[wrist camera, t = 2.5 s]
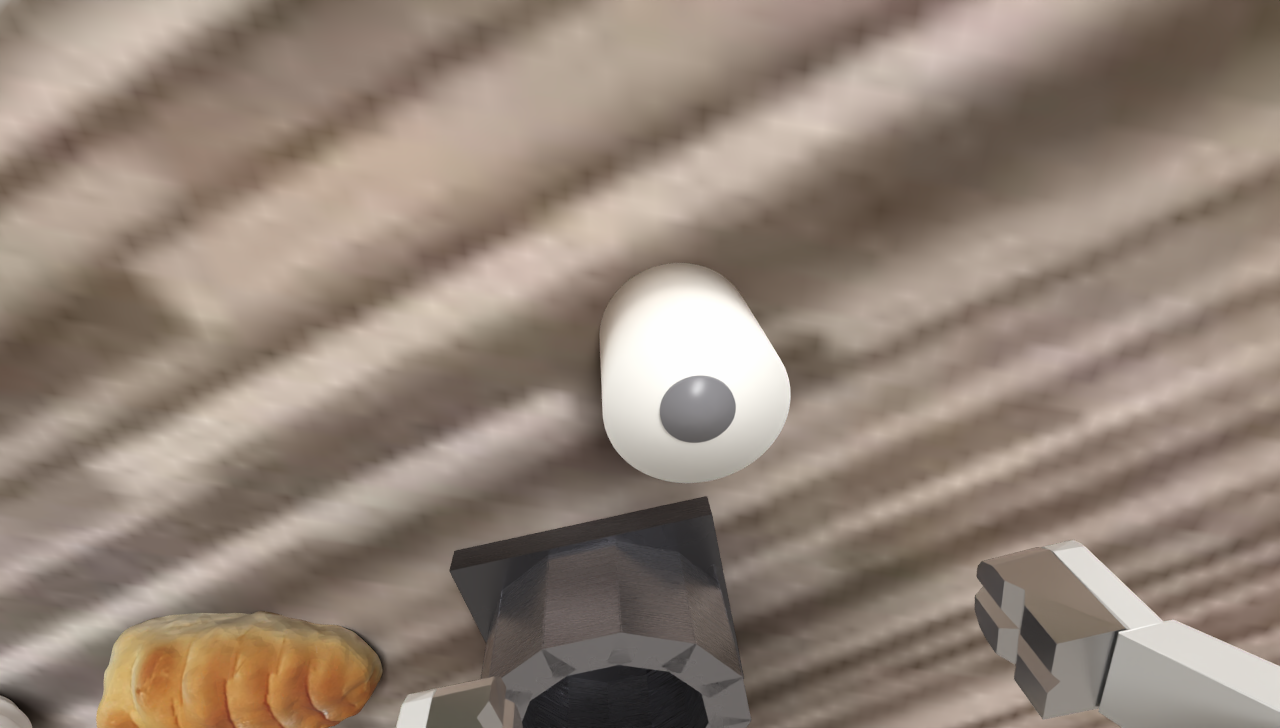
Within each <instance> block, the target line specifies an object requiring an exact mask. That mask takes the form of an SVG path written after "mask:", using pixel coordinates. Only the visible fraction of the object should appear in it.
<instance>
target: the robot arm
mask: <svg viewBox="0 0 1280 728" xmlns="http://www.w3.org/2000/svg"><path fill="white" fill-rule="evenodd" d="M977 578H978V580H979V581H980V582H981V584H982V585H983V587H982V588H981V589H980V590H979V592H978V593H977V594H976V595H975V612H976V616H977V619H978V622H979V626H980V628H981V630H982V632H983V634H984V636H985V638H986V640H987V641H988V643H989V644H990V645H991V647H992V648H993V650H994V651H995V653H996V654H997V655H999V656H1001V657H1003V658H1004V659H1006V660H1008V661H1010V662H1011V663H1013V664H1015V672H1014V680H1015V681H1016V683H1017V684H1018V685H1019V687H1020V688H1021V690H1022V691H1023V692H1024V694H1025V695H1026V697H1027V698H1028V699H1029V701H1030V702H1031V704H1032V705H1033V706H1034V708H1035V709H1036V711H1037V712H1038V713H1039V715H1040V716H1041V718H1042V719H1048V718H1053V717H1058V716H1063V715H1068V714H1073V713H1078V712H1083V711H1088V710H1093V709H1098V708H1099V711H1098V712H1100V713H1101V714H1103V715H1104V716H1106V717H1107V718H1109V719H1110V720H1112V721H1113V722H1115V723H1116V724H1118V725H1119V726H1121V727H1122V728H1280V666H1278V665H1276V664H1273V663H1271V662H1269V661H1267V660H1264V659H1262V658H1260V657H1257V656H1255V655H1253V654H1251V653H1248V652H1246V651H1244V650H1242V649H1239V648H1237V647H1235V646H1232V645H1230V644H1228V643H1226V642H1223V641H1221V640H1219V639H1217V638H1214V637H1212V636H1210V635H1207V634H1205V633H1203V632H1201V631H1198V630H1196V629H1194V628H1192V627H1189V626H1187V625H1185V624H1182V623H1180V622H1178V621H1176V620H1167V621H1163V620H1161V619H1160V618H1159V617H1158V616H1157V615H1156V614H1155V613H1154V612H1153V611H1152V610H1151V609H1150V608H1149V607H1148V606H1147V605H1146V604H1145V603H1144V602H1143V601H1142V600H1140V599H1139V598H1138V597H1137V596H1136V595H1135V594H1134V593H1133V592H1132V591H1131V590H1130V589H1129V588H1128V587H1127V586H1126V585H1125V584H1124V583H1123V582H1122V581H1121V580H1119V579H1118V578H1117V577H1116V576H1115V575H1114V574H1113V573H1112V572H1111V571H1110V570H1109V569H1108V568H1107V567H1106V566H1105V565H1104V564H1103V563H1102V562H1101V561H1099V560H1098V559H1097V558H1096V557H1095V556H1094V555H1093V554H1092V553H1091V552H1090V551H1089V550H1088V549H1087V548H1086V547H1085V546H1084V545H1083V544H1081V543H1079V542H1077V541H1075V540H1069V541H1064V542H1060V543H1056V544H1052V545H1048V546H1044V547H1041V548H1040V547H1036V548H1032V549H1028V550H1024V551H1020V552H1016V553H1012V554H1008V555H1004V556H1000V557H996V558H992V559H988V560H984V561H982V562H981V563H980V564H979V565H978V568H977ZM505 696H506V685H505V684H504V682H503V680H502V679H501V677H500V675H497V676H493V677H488V678H483V679H478V680H474V681H469V682H464V683H459V684H455V685H450V686H445V687H440V688H435V689H431V690H426V691H422V692H418V693H413V694H409V695H408V696H407V697H406V699H405V701H404V702H403V704H402V706H401V709H400V713H399V716H398V720H397V724H396V728H523V724H522V721H521V717H520V713H519V711H518V709H517V707H516V705H515V703H513V702H511V701H509V700H507V699H505Z"/></svg>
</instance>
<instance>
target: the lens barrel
mask: <svg viewBox="0 0 1280 728" xmlns="http://www.w3.org/2000/svg"><path fill="white" fill-rule="evenodd" d="M450 573H451V575H452V577H453V579H454V581H455V583H456V585H457V587H458V589H459V591H460V593H461V595H462V597H463V599H464V601H465V603H466V604H467V606H468V608H469V610H470V612H471V614H472V616H473V618H474V620H475V622H476V624H477V626H478V628H479V630H480V632H481V634H482V636H483V638H484V640H485V642H486V649H485V655H484V661H483V667H482V674H481V679H483V678H488V677H493V676H497V675H500V677H501V679H502V680H503V682H504V684H505V685H506V696H505V699H507V700H509V701H511V702H513V703H515V705H516V707H517V709H518V711H519V713H520V717H521V721H522V724H523V728H747V726H748V725H749V723H750V721H751V716H750V712H749V707H748V701H747V696H746V691H745V686H744V681H743V679H744V676H743V671H742V666H741V661H740V656H739V650H738V645H737V640H736V635H735V630H734V625H733V620H732V615H731V609H730V604H729V599H728V594H727V589H726V584H725V579H724V574H723V569H722V563H721V558H720V553H719V548H718V543H717V538H716V533H715V528H714V522H713V517H712V513H711V509H710V506H709V502H708V498H707V497H702V498H697V499H693V500H688V501H683V502H679V503H674V504H670V505H665V506H660V507H656V508H651V509H647V510H642V511H637V512H633V513H628V514H624V515H619V516H614V517H610V518H605V519H600V520H596V521H591V522H587V523H582V524H577V525H573V526H568V527H564V528H559V529H554V530H550V531H545V532H541V533H536V534H531V535H527V536H522V537H517V538H513V539H508V540H504V541H499V542H494V543H490V544H485V545H481V546H476V547H471V548H467V549H462V550H458V551H454V555H453V559H452V563H451V567H450Z"/></svg>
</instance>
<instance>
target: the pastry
mask: <svg viewBox="0 0 1280 728" xmlns="http://www.w3.org/2000/svg"><path fill="white" fill-rule="evenodd" d="M382 672H383V670H382V666H381V662H380V659H379V657H378V655H377V654H376V653H375V652H374V651H373V649H372V648H371V647H370V646H369V645H368V644H367V643H366V642H365V641H364V640H362V639H361V638H360V637H359V636H358V635H357V634H356V633H354V632H353V631H351V630H348V629H346V628H343V627H341V626H338V625H321V624H314V623H310V622H307V621H303V620H299V619H293V618H288V617H285V616H282V615H279V614H275V613H271V612H265V611H259V612H255V613H253V614H243V613H228V614H211V613H197V614H183V615H170V616H165V617H160V618H154V619H150V620H148V621H145V622H143V623H141V624H138V625H135V626H132V627H130V628H128V629H127V630H125V631H124V632H123V633H122V634H121V635H120V637H119V638H118V639H117V641H116V642H115V644H114V646H113V649H112V655H111V659H110V663H109V666H108V667H107V669H106V671H105V673H104V693H103V698H102V700H101V702H100V704H99V707H98V711H97V717H96V721H97V728H328V727H330V726H335V725H337V724H339V723H340V722H341V721H343V720H344V719H346V718H348V717H351V716H354V715H356V714H358V713H359V712H360V711H361V709H362V708H363V706H364V705H365V703H366V702H367V701H368V700H369V698H370V697H371V695H372V693H373V691H374V689H375V688H376V686H377V683H378V682H379V680H380V678H381V675H382Z"/></svg>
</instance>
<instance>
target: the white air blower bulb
mask: <svg viewBox="0 0 1280 728" xmlns="http://www.w3.org/2000/svg"><path fill="white" fill-rule="evenodd" d="M0 728H32V724H31V722H30V720H29V719H28V717H27V716H26V715H25V714H24V713H23V712H22V711H21V710H20V709H18V707H17V705H16V704H15V703H14V702H12V701H11V700H9V699H8V698H6V697H3V696H0Z"/></svg>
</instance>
